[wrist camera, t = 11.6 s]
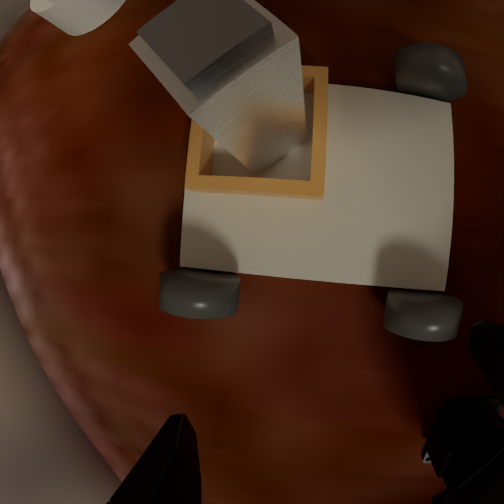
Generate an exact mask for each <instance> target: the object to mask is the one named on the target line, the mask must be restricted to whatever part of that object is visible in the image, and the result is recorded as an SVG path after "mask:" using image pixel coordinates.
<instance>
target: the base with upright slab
mask: <svg viewBox="0 0 504 504" xmlns="http://www.w3.org/2000/svg"><path fill="white" fill-rule="evenodd" d="M124 2H125V0H31V2H30V7H31V10H32V11H34V12H35V13H37V14H38V15H40V16H42V17H43V18H45V19H46V20H48V21H49V22H51V23H52V24H54V25H55V26H57V27H58V28H60V29H61V30H63V31H64V32H66V33H67V34H69V35H73V36H77V35H82V34H85V33H87V32H89V31H92V30H93V29H95V28H97V27H98V26H100V25H102V24H103V23H104V22H105V21H106V20H108V19H109V18H110V17H111V16H112V15H113V14H114V13H115V12H116V11H117V10H118V9H119V8H120V7H121V5H122V4H123V3H124Z"/></svg>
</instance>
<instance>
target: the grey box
mask: <svg viewBox="0 0 504 504" xmlns="http://www.w3.org/2000/svg"><path fill="white" fill-rule="evenodd" d="M137 33H138V34H139V36H137V37H136V38H135V39H134V40H133V41H132V42H130V43H129V44H128V45H129V46H130V47H131V48H132V49H133V50H134V52H135V53H136V54H137V55H138V56H139V57H140V59H141V60H142V61H143V62H144V63H145V64H146V66H147V67H148V68H149V69H150V70H151V71H152V73H153V74H154V75H155V76H156V77H157V79H158V80H159V81H160V82H161V83H162V85H163V86H164V87H165V88H166V89H167V91H168V92H169V93H170V94H171V95H172V97H173V98H174V99H175V100H176V101H177V103H178V104H179V105H180V106H181V108H182V109H183V110H184V111H185V112H186V114H187V115H188V116H189V117H190V118H191V119H193V120H194V121H195V122H196V123H197V124H198V125H200V126H201V127H202V128H203V129H204V130H205V131H206V132H208V133H209V134H210V135H211V136H212V137H213V138H214V139H216V140H217V141H218V142H219V143H220V144H221V145H222V146H223V147H225V148H226V149H227V150H228V151H229V152H230V153H231V154H232V155H233V156H235V157H236V158H237V159H238V160H239V161H240V162H241V163H242V164H243V165H245V166H246V167H247V168H248V169H249V170H250V171H251V172H252V173H253V174H254V175H255V176H257V177H258V176H259V175H260V174H262V173H263V172H264V171H266V170H267V169H268V168H270V167H271V166H272V165H273V164H275V163H276V162H277V161H279V160H280V159H281V158H283V157H284V156H285V155H286V154H288V153H289V152H290V151H292V150H293V149H294V148H296V147H297V146H298V145H300V144H301V143H302V142H304V141H305V140H306V122H305V106H304V93H303V80H302V68H301V57H300V47H299V37H298V35H297V34H295V33H294V32H293V31H292V30H291V29H290V28H288V27H287V26H286V25H285V24H284V23H283V22H281V21H280V20H279V19H278V18H276V17H275V16H274V15H273V14H271V13H270V12H269V11H268V10H266V9H265V8H264V7H263V6H261V5H260V4H259V3H257V2H256V1H255V0H177V1H175V2H174V3H173V4H171V5H170V6H168V7H167V8H166V9H164V10H163V11H162V12H160V13H159V14H158V15H157V16H155V17H154V18H153V19H151V20H150V21H149V22H148V23H146V24H145V25H144V26H143V27H141V28H140V29H139V30H138V31H137Z"/></svg>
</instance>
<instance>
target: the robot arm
mask: <svg viewBox="0 0 504 504" xmlns="http://www.w3.org/2000/svg"><path fill="white" fill-rule="evenodd" d="M469 350H470V353H471V354H472V356H473V358H474V359H475V361H476V363H477V365H478V366H479V368H480V370H481V372H482V373H483V375H484V377H485V379H486V381H487V382H488V384H489V386H490V387H491V389H492V390H493V392H494V393H495V395H496V396H490V397H480V398H468V399H453V400H447V401H446V402H445V403H444V404H443V406H442V409H441V412H440V415H439V417H438V420H437V423H436V424H435V425H434V427H433V430H432V432H431V435H430V437H429V440H428V442H427V445H426V447H425V449H426V450H425V452H424V454H423V457H422V460H423V462H424V463H432V465H433V468H434V470H435V472H436V475H437V476H438V477H439V478H441V477H442V478H443V481H444V483H445V485H446V488H447V489H445V490H444V491H443V492H441V493H440V494H437V495H435V496H434V497H433V498H432V504H504V419H503V418H502V417H501V416H500V415H499V414H500V412H501V409H502V407H503V406H504V326H503V325H499V324H495V323H492V322H488V321H484V320H482V321H480V322H478V323H476V324H474V325H473V326H472V328H471V334H470V340H469ZM499 401H500V402H499ZM498 402H499V403H498ZM449 405H450V407H448V406H449ZM447 407H448V408H447ZM428 457H429V458H428ZM106 504H201V473H200V465H199V456H198V446H197V437H196V433H195V430H194V429H193V427H192V425H191V423H190V422H189V420H188V418H187V416H186V415H185V414H175V415H171V416H170V417H169V418H168V419H167V421H166V422H165V424H164V425H163V426H162V428H161V429H160V431H159V432H158V433H157V435H156V436H155V438H154V439H153V440H152V442H151V443H150V445H149V446H148V447H147V449H146V450H145V452H144V453H143V454H142V456H141V457H140V459H139V460H138V461H137V463H136V464H135V465H134V467H133V468H132V470H131V471H130V472H129V474H128V475H127V476H126V478H125V479H124V481H123V482H122V483H121V485H120V486H119V488H118V489H117V490H116V492H115V493H114V494H113V496H112V497H111V498H110V501H108V502H107V503H106Z"/></svg>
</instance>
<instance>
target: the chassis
mask: <svg viewBox="0 0 504 504" xmlns="http://www.w3.org/2000/svg"><path fill="white" fill-rule="evenodd" d="M394 66H395V79H396V87H397V89H398V90H399V91H400V92H401V93H397V92H391V91H385V90H378V89H371V88H363V87H355V86H345V85H335V84H328V67H321V66H305V65H301V68H302V80H303V93H304V106H305V122H306V140H305V141H304V142H302V143H301V144H300V145H298V146H297V147H296V148H294V149H293V150H292V151H290V152H289V153H288V154H286V155H285V156H284V157H283V158H281V159H280V160H279V161H277V162H276V163H275V164H273V165H272V166H271V167H270V168H268V169H267V170H266V171H264V172H263V173H262V174H260V175H259V176H258V177H257V176H255V175H254V174H253V173H252V172H251V171H250V170H249V169H248V168H247V167H246V166H245V165H243V164H242V163H241V162H240V161H239V160H238V159H237V158H236V157H235V156H233V155H232V154H231V153H230V152H229V151H228V150H227V149H226V148H225V147H223V146H222V145H221V144H220V143H219V142H218V141H217V140H216V139H214V138H213V137H212V136H211V135H210V134H209V133H208V132H206V131H205V130H204V129H203V128H202V127H201V126H200V125H198V124H197V123H196V122H195V121H194V120H193V119H192V121H191V129H190V138H189V147H188V156H187V166H186V177H185V194H184V206H183V219H182V234H181V251H180V266H183V267H191V268H200V269H173V270H166V271H163V272H161V273H160V278H159V308H160V309H161V310H162V311H164V312H166V313H169V314H172V315H175V316H179V317H185V318H193V319H217V318H224V317H229V316H232V315H234V314H236V313H237V312H238V305H239V291H240V277H239V276H237V275H234V274H230V273H226V272H220V271H227V272H237V273H246V274H256V275H265V276H275V277H285V278H295V279H306V280H316V281H327V282H338V283H349V284H360V285H372V286H384V287H396V288H409V289H394V290H390V291H388V293H387V300H386V306H385V313H384V319H383V326H384V328H386V329H387V330H388V331H390V332H392V333H394V334H397V335H400V336H403V337H406V338H410V339H415V340H421V341H432V342H439V341H448V340H451V339H454V338H455V337H456V336H457V332H458V327H459V322H460V317H461V312H462V307H463V301H461V300H460V299H458V298H455V297H453V296H449V295H446V294H441V293H437V292H431V291H424V290H435V291H445V286H446V279H447V272H448V264H449V255H450V245H451V234H452V220H453V200H454V147H453V127H452V114H451V103H447V102H446V101H452V100H456V99H459V98H461V97H463V96H464V95H465V94H466V93H467V90H468V86H467V80H466V73H465V68H464V62H463V59H462V57H461V56H460V55H459V54H458V53H457V52H456V51H454V50H452V49H451V48H448V47H446V46H443V45H439V44H434V43H416V44H411V45H407V46H405V47H403V48H401V49H400V50H398V51H397V52H396V54H395V56H394ZM202 269H209V270H202ZM213 270H218V271H213ZM414 289H422V290H414Z"/></svg>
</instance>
